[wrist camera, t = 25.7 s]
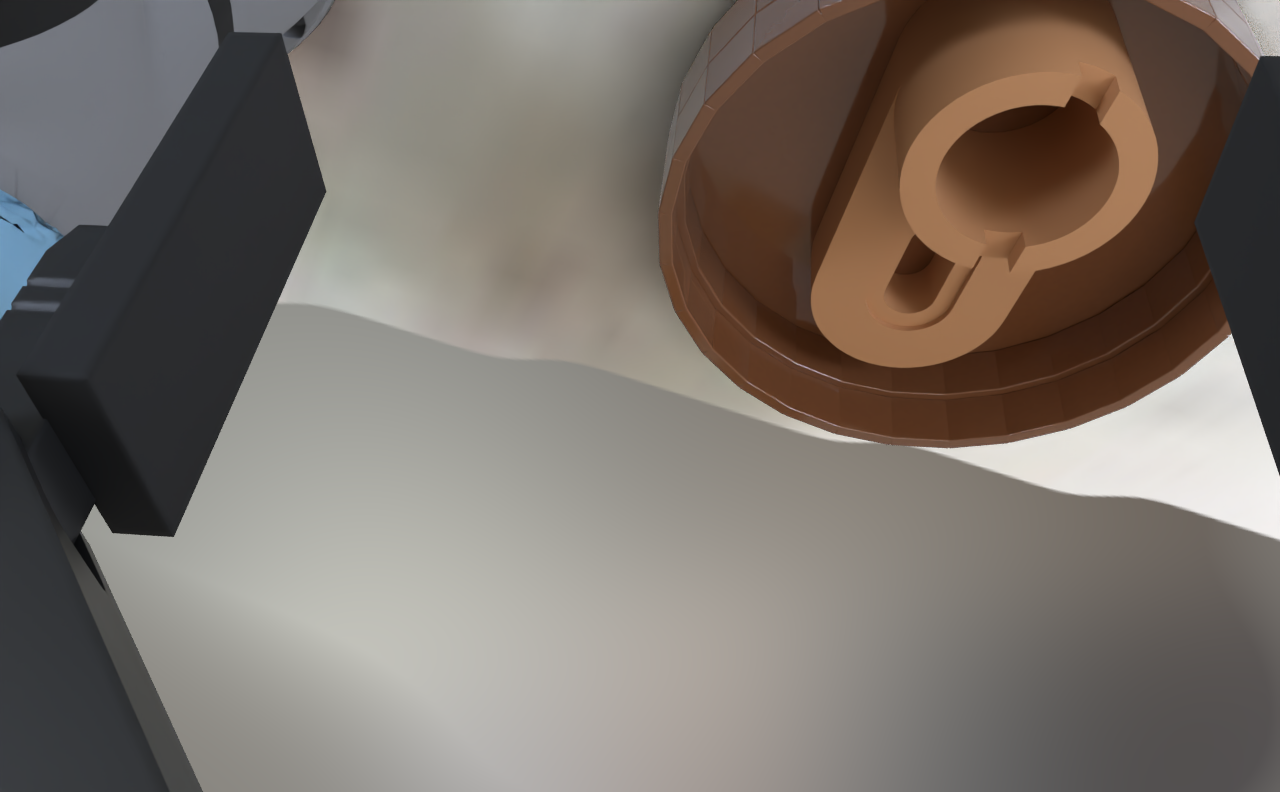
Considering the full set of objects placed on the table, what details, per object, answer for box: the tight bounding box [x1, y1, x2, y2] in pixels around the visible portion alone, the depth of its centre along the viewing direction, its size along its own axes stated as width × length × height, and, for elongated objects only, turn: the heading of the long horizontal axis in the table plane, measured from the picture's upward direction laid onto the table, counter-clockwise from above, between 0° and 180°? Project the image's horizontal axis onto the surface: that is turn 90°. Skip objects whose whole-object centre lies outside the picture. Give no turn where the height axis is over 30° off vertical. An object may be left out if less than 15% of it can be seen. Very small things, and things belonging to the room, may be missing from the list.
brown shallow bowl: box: [658, 0, 1265, 448], centre depth 47 cm, size 23×23×6 cm
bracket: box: [811, 0, 1158, 368], centre depth 46 cm, size 18×8×7 cm, turn 168°
